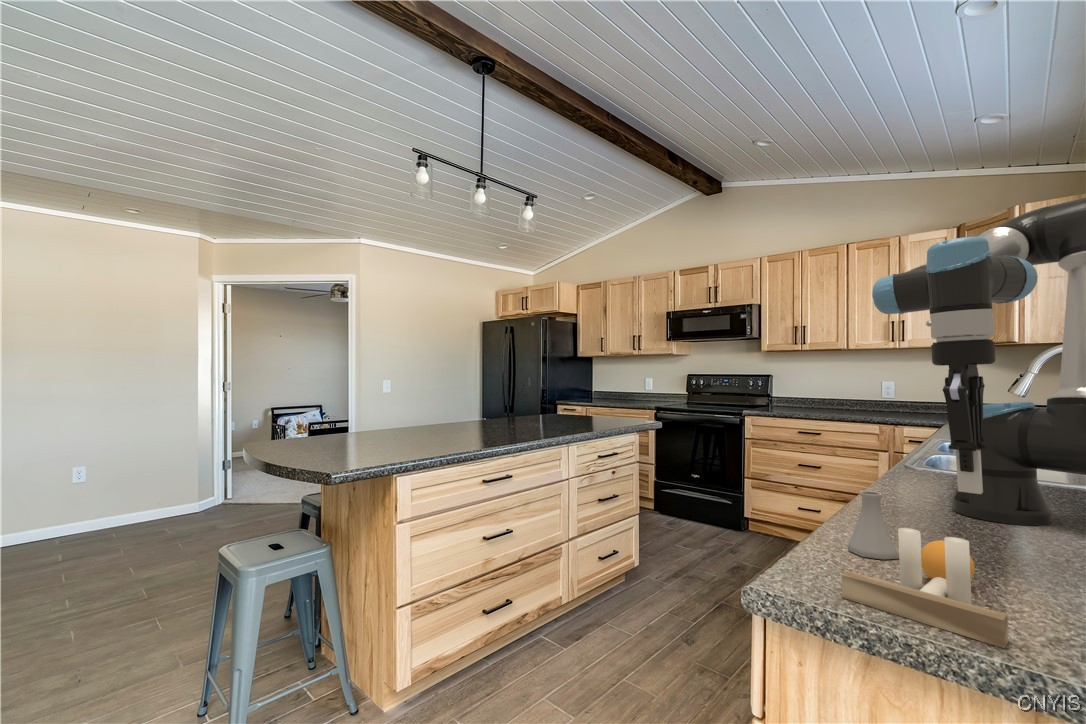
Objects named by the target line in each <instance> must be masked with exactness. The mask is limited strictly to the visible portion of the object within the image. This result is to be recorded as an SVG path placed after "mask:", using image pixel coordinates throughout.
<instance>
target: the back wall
mask: <svg viewBox="0 0 1086 724" xmlns="http://www.w3.org/2000/svg"><path fill="white" fill-rule="evenodd" d="M841 591H842V593H841V594H842V595H841V598H842V599H846V600H848V601H852V602H854V603H859V604H861V605H865V606H867V607H871V608H873V609H878V610H879V611H880V610H881V611H883V612H887V613H890V614H893V615H897V616H900V617H903V618H906V619H910V620H913V621H916V622H919V623H922V624H924V625H925V624H926V625H928V626H932V627H935V628H938V629H941V630H945V631H949V632H951V633H954V634H957V635H960V636H962V637H963V636H964V637H968V638H970V639H974V640H977V641H980V642H983V643H987V644H989V645H992V646H996V647H999V648H1002V649H1006V647H1007V645H1008V644H1009V627H1008V626H1009V624H1008V622H1009V621H1008V619H1009V618H1008V614H1006V613H1003V612H999V611H996V610H992V609H988V608H986V607H985V608H984V607H981V606H977V605H974V604H972V603H971V604H967V603H963V602H960V601H956V600H952V599H949V598H945V597H941V596H938V595H934V594H930V593H927V592H923V591H919V590H916V589H912V588H908V587H905V586H901V585H900V584H897V583H894V582H891V581H885V580H883V579H882V580H881V579H878V578H874V577H871V576H868V575H864V574H861V573H857V572H852V571H849V570H847V571H845V572H844V573H842V574H841Z"/></svg>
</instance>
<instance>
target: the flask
mask: <svg viewBox="0 0 1086 724" xmlns="http://www.w3.org/2000/svg"><path fill="white" fill-rule="evenodd" d="M859 495H860V497H861V507H860V512H859V513H860V514H859V516H858V519H857V521H856V524H855V528H854V530H853V532H852V535H851V537H850V538H849V539H850V540H849V541H848V546H847V548H848V551H849V552H851V553H854V554H856V555H857V556H860V557H863V558H869V559H876V560H895V559H896V560H899V554H898V551H897V548H896V545H895V544H894V541H893V539H892V537H891V535H890V532H889V529H888V527H887V524H886V522H885V519H884V515H883V511H882V507H881V499H882V498H883V493H882V492H879V491H875V490H860V491H859Z"/></svg>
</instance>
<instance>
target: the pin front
mask: <svg viewBox="0 0 1086 724" xmlns="http://www.w3.org/2000/svg"><path fill="white" fill-rule="evenodd" d="M922 587H923V588H921V589H920V590H919V591H923V592H927V593H930V594H934V595H938V596H941V597H945V598H947V592H946V579H944V578H941V577H935V578H933V579H930V581H928V582H927V583H926V584H924V585H923V586H922Z"/></svg>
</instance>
